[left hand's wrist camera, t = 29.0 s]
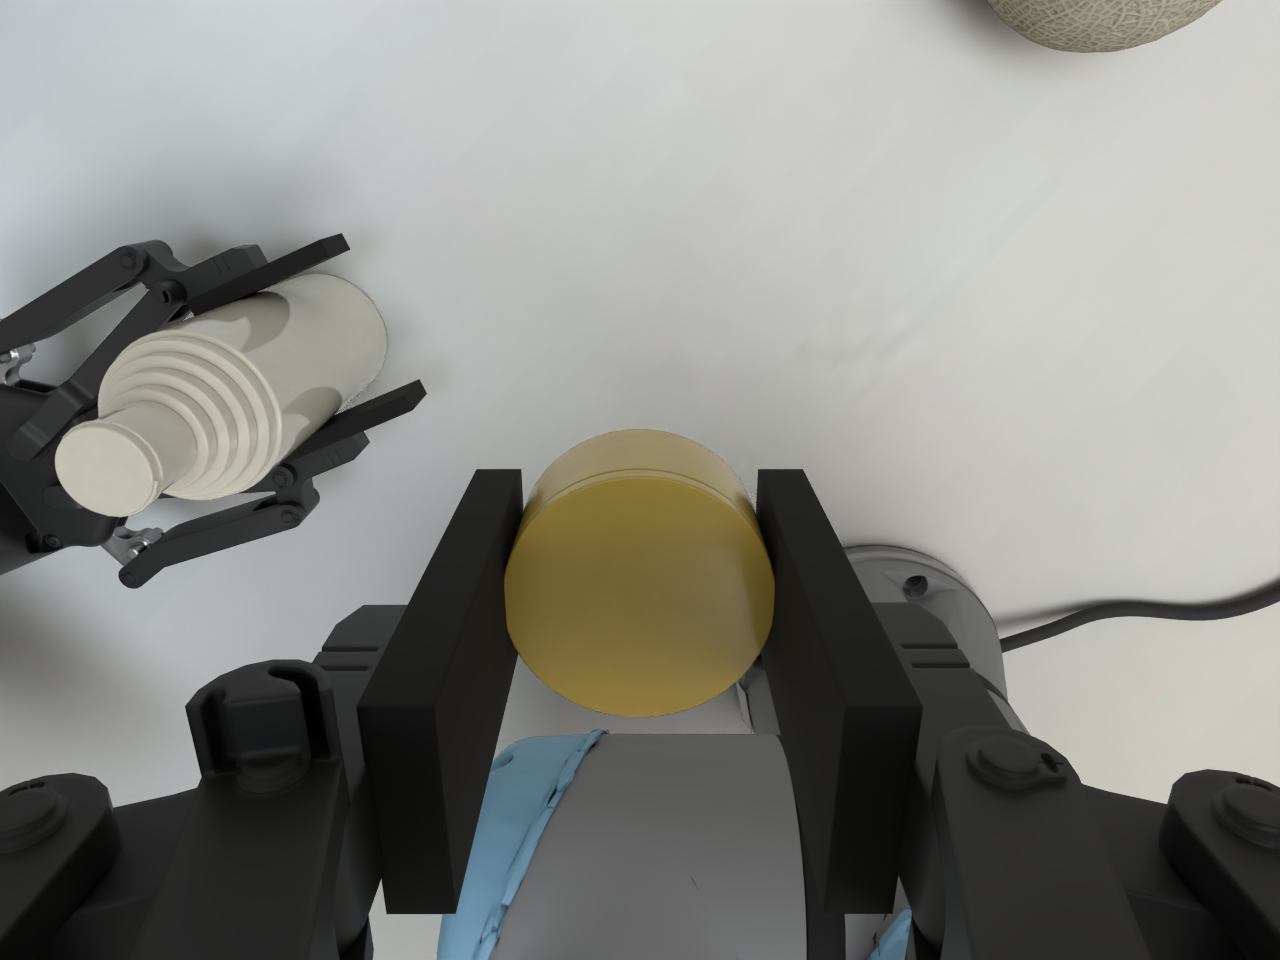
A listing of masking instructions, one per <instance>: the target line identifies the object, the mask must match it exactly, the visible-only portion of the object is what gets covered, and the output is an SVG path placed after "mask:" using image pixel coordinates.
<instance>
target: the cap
mask: <svg viewBox="0 0 1280 960" xmlns="http://www.w3.org/2000/svg"><path fill="white" fill-rule="evenodd" d="M504 591H505V606H506V621H507V630H508V633H509V635H510V638H511V640H512V643H513V645H514V646H515V648H516V650H517V652H518V653H519V655H520V657H521V658H522V660H523V661H524V662H525V664H526V665H527V666H528V667H529V669H530V670H531V671H532V672H533V673H534V674H535V675H536V676H537V677H538V678H539V679H540V680H541V681H542V682H543V683H544V684H546V685H547V686H548V687H549V688H551V689H552V690H553V691H555V692H556V693H558V694H559V695H561V696H563V697H564V698H566V699H568V700H569V701H572V702H574V703H576V704H578V705H581V706H583V707H585V708H588V709H592V710H595V711H598V712H601V713H606V714H611V715H616V716H627V717H653V716H661V715H668V714H672V713H676V712H680V711H684V710H687V709H690V708H692V707H695V706H698V705H700V704H702V703H704V702H706V701H708V700H710V699H712V698H714V697H716V696H717V695H719V694H720V693H722V692H723V691H725V690H726V689H728V688H729V687H730V686H731V685H733V684H734V683H735V682H736V681H737V680H739V679H740V678H741V677H742V676H743V674H744V673H745V672H746V671H747V670H748V669H749V668H750V667H751V666H752V664H753V663H754V661H755V660H756V658H757V657H758V656H759V654H760V653H761V651H762V649H763V647H764V645H765V643H766V641H767V639H768V636H769V633H770V630H771V628H772V624H773V612H774V597H775V576H774V572H773V568H772V564H771V561H770V558H769V554H768V551H767V548H766V545H765V542H764V539H763V536H762V533H761V529H760V526H759V523H758V520H757V517H756V514H755V511H754V507H753V504H752V502H751V500H750V497H749V495H748V493H747V491H746V489H745V487H744V486H743V484H742V482H741V481H740V479H739V478H738V477H737V475H736V474H735V473H734V472H733V470H732V469H731V468H730V467H729V466H728V465H727V464H726V463H725V462H724V461H723V460H722V459H721V458H719V457H718V456H717V455H716V454H714V453H713V452H711V451H710V450H708V449H707V448H706V447H704V446H702V445H700V444H698V443H696V442H694V441H692V440H690V439H687V438H684V437H682V436H679V435H676V434H672V433H668V432H663V431H657V430H647V429H632V430H622V431H615V432H610V433H606V434H603V435H599V436H596V437H594V438H591V439H589V440H587V441H584V442H582V443H580V444H578V445H577V446H575V447H573V448H571V449H570V450H568V451H567V452H565V453H564V454H563V455H562V456H560V457H559V458H558V459H556V460H555V461H554V462H553V463H552V464H551V465H550V466H549V467H548V469H547V470H546V471H545V472H544V473H543V474H542V476H541V477H540V479H539V480H538V481H537V483H536V484H535V486H534V488H533V490H532V492H531V494H530V495H529V498H528V501H527V503H526V506H525V509H524V512H523V515H522V518H521V521H520V524H519V527H518V531H517V534H516V537H515V540H514V543H513V546H512V549H511V552H510V556H509V559H508V562H507V565H506V569H505V574H504Z"/></svg>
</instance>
